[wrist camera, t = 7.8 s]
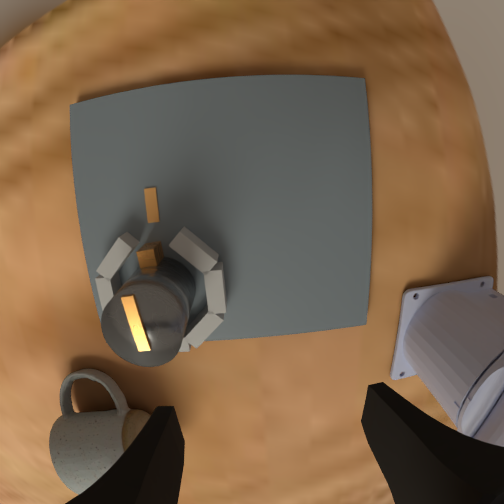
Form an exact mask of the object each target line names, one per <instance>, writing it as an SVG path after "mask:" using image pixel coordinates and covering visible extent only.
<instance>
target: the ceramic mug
mask: <svg viewBox="0 0 504 504" xmlns="http://www.w3.org/2000/svg"><path fill="white" fill-rule="evenodd" d="M80 378H88V379H91V380H93V381H97V382H98V383H101V384H102V385H103V386H104V387H105V388H106V389H107V391H108V392H109V393H110V395H111V397H112V399H113V401H114V402H115V406H116V408H117V409H114V410H109V411H96V412H80V413H76V412H74V410H73V405H72V401H71V387H72V384H73V381H74V380H76V379H80ZM60 406H61V411H62V416H60V417H59V418H58V419H57V420H56V421H55V423H54V424H53V426H52V429H51V432H50V438H49V448H50V455H51V459H52V463H53V465H54V468H55V470H56V472H57V474H58V476H59V477H60V479H61V480H62V482H63V483H64V484H65V485H66V486H67V487H68V488H69V489H70V490H72V491H73V492H75V493H77V494H81V493H82V492H83V491H85V490H86V489H87V488H89V487H90V486H91V485H92V484H93V483H95V482H96V481H97V480H98V479H99V478H100V477H101V476H102V475H103V474H105V473H106V472H107V471H108V470H109V469H110V468H111V467H112V465H113V464H114V463H115V462H116V461H117V460H118V459H119V458H120V456H121V455H122V454H123V453H124V452H125V451H126V449H127V448H128V447H129V446H130V444H131V443H132V442H133V440H134V439H135V438H136V436H137V435H138V434H139V432H140V431H141V430H142V428H143V427H144V425H145V424H146V422H147V421H148V419H149V418H150V416H151V415H150V414H148V413H147V412H145V411H143V410H140V409H130V408H128V405H127V402H126V399H125V396H124V394H123V393H122V391H121V390H120V388H119V386H118V385H117V383H116V382H115V381H114V380H113V379H112V378H111V377H110V376H108V375H107V374H105V373H103V372H101V371H99V370H96V369H82V370H79V371H76V372H73V373H70V374H69V375H67V377H66V378H65V379H64V381H63V383H62V385H61V389H60Z"/></svg>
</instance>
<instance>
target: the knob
mask: <svg viewBox="0 0 504 504" xmlns="http://www.w3.org/2000/svg"><path fill="white" fill-rule="evenodd" d="M136 253H137V257H138V261H139V265H140V266H139V267H138V268H137V269H136V271H135V272H134V273H133V274H132V275H131V276H130V277H129V279H128V280H127V281H126V282H125V283H124V284H123V286H122V287H121V288H120V289H119V290H118V291H117V293H116V294H115V295H114V296H113V297H112V299H111V300H110V301H109V302H108V303H107V305H106V306H105V308H104V310H103V313H102V316H101V328H102V332H103V335H104V338H105V340H106V342H107V343H108V345H109V346H110V348H111V349H112V350H113V351H114V352H115V353H116V354H117V355H118V356H120V357H121V358H123V359H124V360H126V361H128V362H130V363H132V364H135V365H139V366H144V367H154V366H160V365H163V364H165V363H167V362H169V361H170V360H172V359H173V358H174V357H175V356H176V355H177V353H178V352H179V350H180V347H181V344H182V341H183V337H184V333H185V330H186V326H187V322H188V319H189V315H190V312H191V308H192V305H193V301H194V297H195V292H196V287H195V282H194V279H193V276H192V274H191V273H190V271H189V270H188V269H187V268H186V267H185V266H184V265H183V264H182V263H181V262H179V261H177V260H175V259H173V258H169V257H164V254H163V250H162V245H161V241H158V242H152V243H147V244H144V245H143V246H142V247H141V248H140V249H139V250H138V251H137V252H136Z"/></svg>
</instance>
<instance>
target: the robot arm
mask: <svg viewBox="0 0 504 504" xmlns="http://www.w3.org/2000/svg"><path fill="white" fill-rule="evenodd" d="M481 282H482V283H481ZM480 284H481V285H480ZM492 287H493V278H492V277H491V276H485V277H479V278H474V279H468V280H462V281H457V282H451V283H445V284H438V285H432V286H426V287H419V288H413V289H408V290H406V291H405V292H404V293H403V297H402V305H401V313H400V320H399V327H398V333H397V339H396V345H395V351H394V357H393V362H392V367H391V372H390V377H391V378H392V379H393V380H397V379H401V378H405V377H409V376H413V375H418V376H419V377H420V379H421V380H422V381H423V383H424V384H425V385H426V386H427V388H428V389H429V390H430V392H431V393H432V394H433V396H434V397H435V398H436V400H437V401H438V402H439V404H440V405H441V406H442V408H443V409H444V410H445V412H446V413H447V414H448V416H449V417H450V418H451V420H452V421H453V423H454V424H455V425H456V427H457V428H458V429H457V431H456V430H454V429H451V428H449V427H448V426H446V425H444V424H442V423H440V422H439V421H437V420H435V419H434V418H432V417H430V416H429V415H427V414H426V413H424V412H423V411H421V410H420V409H418V408H417V407H416V406H414V405H413V404H411V403H410V402H409V401H407V400H406V399H405V398H403V397H402V396H401V395H399V394H398V393H397V392H395V391H394V390H393V389H391V388H390V387H389V386H387V385H386V384H385V383H383V382H381V383H376V384H372V385H368V390H367V395H366V400H365V405H364V410H363V415H362V419H361V423H362V426H363V429H364V432H365V435H366V438H367V441H368V444H369V446H370V448H371V450H372V452H373V454H374V456H375V458H376V460H377V462H378V464H379V466H380V468H381V471H382V473H383V475H384V477H385V479H386V481H387V483H388V485H389V488H390V490H391V493H392V496H393V499H394V502H395V504H504V296H503V295H502V294H500V293H499V292H497V291H495V290H494V289H492ZM415 293H417V294H416V296H415V297H414V298H413V296H414V294H415ZM401 372H402V373H401ZM400 373H401V374H400ZM184 445H185V441H184V438H183V435H182V431H181V428H180V425H179V422H178V419H177V415H176V412H175V409H174V406H158V407H157V408H156V409H155V410H154V412H153V413H152V415H151V416H150V418H149V419H148V421H147V422H146V424H145V425H144V427H143V428H142V430H141V431H140V432H139V434H138V435H137V436H136V438H135V439H134V440H133V442H132V443H131V444H130V446H129V447H128V448H127V449H126V451H125V452H124V453H123V454H122V455H121V456H120V458H119V459H118V460H117V461H116V462H115V463H114V464H113V465H112V467H111V468H110V469H109V470H108V471H107V472H106V473H105V474H103V475H102V476H101V477H100V478H99V479H98V480H97V481H96V482H95V483H93V484H92V485H91V486H90V487H89V488H87V489H86V490H85V491H83V492H82V493H81V494H79V495H78V496H76V497H75V498H73V499H72V500H70V501H69V502H67V503H65V504H177V503H178V497H179V491H180V485H181V479H182V472H183V466H184Z"/></svg>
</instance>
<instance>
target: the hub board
mask: <svg viewBox="0 0 504 504" xmlns="http://www.w3.org/2000/svg"><path fill="white" fill-rule="evenodd" d="M70 132H71V151H72V164H73V176H74V186H75V194H76V203H77V210H78V217H79V224H80V230H81V236H82V242H83V248H84V253H85V258H86V263H87V268H88V273H89V277H90V282H91V286H92V291H93V295H94V299H95V303H96V307H97V311H98V315H99V318H100V322H101V316H102V313H103V310H104V308H105V306H106V305H107V303H108V302H109V301H110V300H111V299H112V297H113V296H114V295H115V294H116V293H117V291H118V290H119V289H120V288H121V287H122V286H123V284H124V283H125V282H126V281H127V280H128V279H129V277H130V276H131V275H132V274H133V273H134V272H135V271H136V269H137V268H138V267H139V266H140V265H139V261H138V257H137V253H136V252H137V251H138V250H139V249H140V248H141V247H142V246H143V245H144V244H147V243H152V242H158V241H161V245H162V250H163V254H164V257H169V258H173V259H175V260H177V261H179V262H181V263H182V264H183V265H184V266H185V267H186V268H187V269H188V270H189V271H190V273H191V274H192V276H193V279H194V282H195V287H196V292H195V297H194V301H193V305H192V308H191V312H190V315H189V319H188V322H187V326H186V330H185V333H184V337H183V341H182V344H181V347H180V350H179V352H187V351H190V348H191V345H193V346H194V347H195V348H198V347H199V346H200V345H201V344H202V343H203V342H204V341H214V340H230V339H244V338H257V337H268V336H279V335H289V334H298V333H307V332H316V331H324V330H332V329H339V328H346V327H353V326H360V325H366V322H367V311H368V299H369V285H370V268H371V245H372V168H371V145H370V129H369V116H368V104H367V94H366V85H365V78H355V77H342V76H323V75H255V76H236V77H222V78H211V79H201V80H192V81H184V82H177V83H170V84H163V85H157V86H151V87H145V88H140V89H135V90H130V91H125V92H120V93H115V94H111V95H106V96H102V97H98V98H94V99H90V100H86V101H82V102H79V103H75V104H72V105H70ZM106 343H107V342H106Z"/></svg>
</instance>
